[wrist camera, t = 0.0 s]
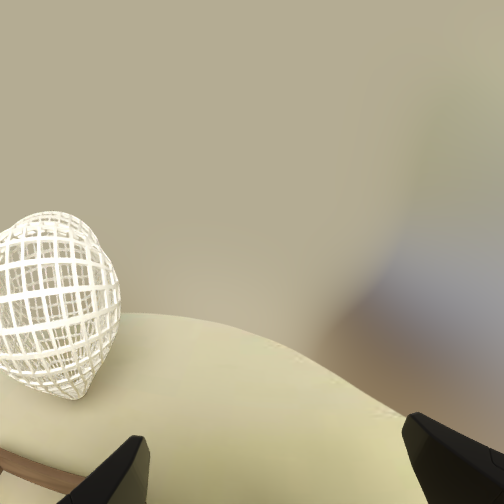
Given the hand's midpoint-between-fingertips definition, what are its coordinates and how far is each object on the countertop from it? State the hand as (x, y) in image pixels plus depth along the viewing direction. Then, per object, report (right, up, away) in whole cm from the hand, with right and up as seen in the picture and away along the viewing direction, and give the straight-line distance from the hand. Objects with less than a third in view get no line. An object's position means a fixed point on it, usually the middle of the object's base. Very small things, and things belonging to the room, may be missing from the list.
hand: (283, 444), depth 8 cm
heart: (-23, -12, +23) cm, 35 cm away
